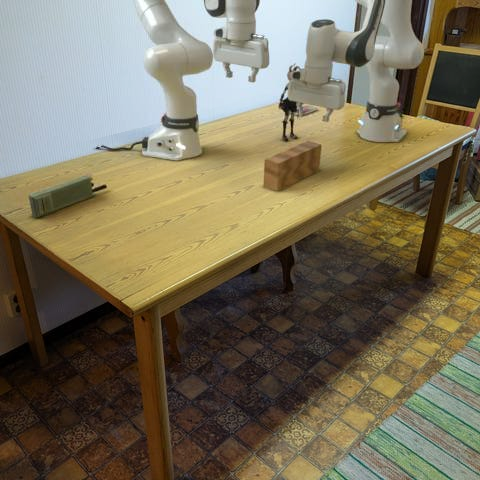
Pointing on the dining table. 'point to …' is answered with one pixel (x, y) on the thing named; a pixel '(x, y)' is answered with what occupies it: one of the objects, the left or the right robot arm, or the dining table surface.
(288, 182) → the bar
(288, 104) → the figurine
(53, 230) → the dining table surface
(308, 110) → the smartphone
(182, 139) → the left robot arm
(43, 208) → the handheld radio
